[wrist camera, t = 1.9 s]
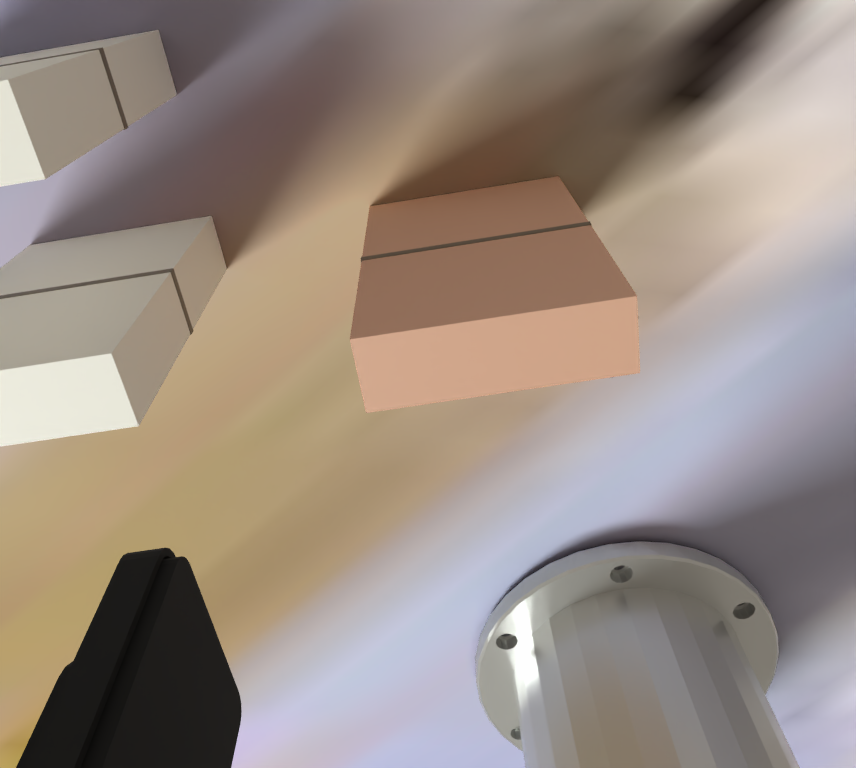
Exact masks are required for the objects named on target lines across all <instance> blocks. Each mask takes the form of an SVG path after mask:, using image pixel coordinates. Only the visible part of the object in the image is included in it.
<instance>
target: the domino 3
mask: <svg viewBox="0 0 856 768" xmlns="http://www.w3.org/2000/svg"><path fill="white" fill-rule="evenodd" d="M350 342H351V347H352V351H353V356H354V360H355V365H356V369H357V374H358V378H359V383H360V387H361V392H362V396H363V401H364V405H365V410H366V413H369V412H376V411H383V410H390V409H397V408H403V407H410V406H417V405H424V404H431V403H438V402H444V401H451V400H458V399H465V398H472V397H479V396H485V395H492V394H499V393H506V392H513V391H520V390H527V389H533V388H540V387H547V386H554V385H561V384H568V383H574V382H581V381H588V380H595V379H602V378H609V377H615V376H622V375H629V374H636V373H640V359H639V332H638V306H637V295H636V294H635V292H634V291H633V289H632V287H631V286H630V284H629V283H628V281H627V280H626V278H625V277H624V275H623V274H622V272H621V271H620V269H619V268H618V266H617V265H616V263H615V261H614V260H613V258H612V257H611V255H610V254H609V252H608V251H607V249H606V248H605V246H604V245H603V243H602V242H601V240H600V239H599V237H598V235H597V234H596V232H595V231H594V229H593V228H592V226H591V223H590V221H589V222H588V220H587V219H586V217H585V216H584V214H583V213H582V211H581V209H580V208H579V206H578V205H577V203H576V202H575V200H574V199H573V197H572V196H571V194H570V193H569V191H568V190H567V188H566V187H565V185H564V183H563V182H562V180H561V179H560V177H559V176H556V177H550V178H543V179H537V180H531V181H525V182H518V183H512V184H506V185H500V186H493V187H487V188H481V189H475V190H468V191H462V192H456V193H450V194H443V195H437V196H431V197H425V198H418V199H412V200H406V201H400V202H393V203H387V204H381V205H375V206H370V208H369V215H368V222H367V228H366V235H365V242H364V249H363V255H362V257H361V269H360V275H359V282H358V289H357V295H356V302H355V309H354V315H353V322H352V329H351V336H350Z"/></svg>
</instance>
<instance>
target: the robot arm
mask: <svg viewBox="0 0 856 768" xmlns="http://www.w3.org/2000/svg"><path fill="white" fill-rule="evenodd" d="M778 656H779V647H778V633H777V630H776V628H775V625H774V622H773V619H772V617H771V614H770V612H769V610H768V608H767V607H766V605H765V603H764V601H763V600H762V598H761V596H760V594H759V593H758V591H757V590H756V588H755V587H754V586H753V585H752V584H751V583H750V582H749V581H748V580H747V579H746V578H745V577H744V575H743V574H742V573H740V572H739V571H737V570H736V569H735V568H733V567H732V566H730V565H729V564H727V563H726V562H724V561H723V560H721V559H719V558H717V557H714V556H712V555H709V554H707V553H705V552H702V551H700V550H697V549H694V548H689V547H685V546H680V545H675V544H671V543H660V542H641V541H637V542H626V543H616V544H607V545H603V546H599V547H595V548H591V549H587V550H583V551H579V552H576V553H574V554H571V555H569V556H566V557H564V558H562V559H559V560H557V561H554V562H552V563H550V564H548V565H546V566H545V567H543V568H541V569H540V570H538V571H536V572H535V573H533V574H532V575H530V576H528V577H527V578H525V579H524V580H523V581H522V582H521V583H519V584H518V585H517V586H516V587H515V588H514V589H513V590H511V591H510V592H509V593H508V594H507V595H506V596H505V597H504V598H503V599H502V601H501V602H500V603H499V604H498V606H497V607H496V608H495V609H494V611H493V612H492V613H491V615H490V616H489V618H488V620H487V622H486V624H485V626H484V628H483V630H482V632H481V635H480V637H479V642H478V646H477V651H476V656H475V663H476V682H477V688H478V693H479V699H480V703H481V705H482V707H483V709H484V711H485V713H486V715H487V717H488V720H489V721H490V722H491V723H492V725H493V726H494V727H495V728H496V729H497V731H498V732H499V733H500V734H501V735H502V736H503V737H504V738H505V739H507V740H508V741H509V742H510V743H512V744H513V745H514V746H515V747H517V748H518V749H519V750H521V751H523V754H524V761H525V768H800V767H799V765H798V763H797V761H796V759H795V756H794V754H793V752H792V750H791V748H790V746H789V744H788V742H787V740H786V738H785V736H784V733H783V731H782V729H781V727H780V725H779V723H778V721H777V719H776V717H775V715H774V713H773V711H772V708H771V706H770V704H769V702H768V700H767V698H766V696H765V695H766V693H767V691H768V689H769V686H770V684H771V682H772V680H773V678H774V675H775V672H776V666H777V661H778ZM240 722H241V700H240V695H239V692H238V689H237V686H236V684H235V681H234V678H233V676H232V673H231V671H230V668H229V665H228V663H227V660H226V657H225V655H224V652H223V650H222V647H221V644H220V642H219V639H218V637H217V634H216V631H215V629H214V626H213V623H212V621H211V618H210V616H209V613H208V610H207V608H206V605H205V603H204V600H203V597H202V595H201V592H200V589H199V587H198V584H197V582H196V579H195V576H194V574H193V571H192V569H191V566H190V564H189V562H188V560H187V559H186V558H185V557H175V555H174V553H173V552H172V551H171V550H170V549H169V548H161V549H154V550H147V551H140V552H132V553H127V554H125V555H123V556H122V558H121V559H120V561H119V563H118V565H117V567H116V570H115V572H114V574H113V576H112V578H111V581H110V583H109V585H108V587H107V589H106V591H105V594H104V596H103V598H102V600H101V602H100V604H99V607H98V609H97V611H96V613H95V615H94V618H93V620H92V622H91V624H90V626H89V628H88V631H87V633H86V635H85V637H84V639H83V641H82V644H81V646H80V648H79V650H78V652H77V655H76V657H75V659H74V661H73V662H71V663H70V664H69V665H67V666H66V667H65V668H64V670H63V671H62V673H61V675H60V676H59V678H58V680H57V682H56V684H55V686H54V688H53V690H52V693H51V695H50V697H49V699H48V701H47V703H46V705H45V707H44V710H43V712H42V714H41V716H40V718H39V720H38V722H37V724H36V727H35V729H34V731H33V733H32V735H31V737H30V739H29V741H28V744H27V746H26V748H25V750H24V752H23V754H22V756H21V759H20V761H19V763H18V765H17V767H16V768H231V765H232V760H233V755H234V751H235V746H236V741H237V736H238V732H239V727H240Z"/></svg>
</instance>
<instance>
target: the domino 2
mask: <svg viewBox="0 0 856 768" xmlns="http://www.w3.org/2000/svg"><path fill="white" fill-rule="evenodd" d="M226 270H227V267H226V264H225V260H224V257H223V253H222V250H221V246H220V243H219V239H218V236H217V232H216V229H215V225H214V222H213V218H212V216H207V217H201V218H194V219H188V220H182V221H176V222H170V223H163V224H157V225H151V226H145V227H139V228H132V229H126V230H120V231H114V232H108V233H101V234H95V235H89V236H83V237H77V238H70V239H64V240H58V241H52V242H46V243H39V244H33V245H29V246H28V247H27V248H25V249H24V250H23V251H22V252H20V253H19V254H18V255H16V256H15V257H14V258H13V259H11V260H10V261H9V262H8V263H6V264H5V265H4V266H3V267H1V268H0V446H7V445H14V444H21V443H27V442H34V441H41V440H48V439H55V438H61V437H68V436H75V435H82V434H88V433H95V432H102V431H109V430H115V429H122V428H129V427H136V426H139V425H140V423H141V421H142V419H143V417H144V416H145V414H146V412H147V410H148V409H149V407H150V405H151V403H152V401H153V400H154V398H155V396H156V394H157V393H158V391H159V389H160V387H161V385H162V384H163V382H164V380H165V378H166V377H167V375H168V373H169V371H170V369H171V368H172V366H173V364H174V362H175V360H176V359H177V357H178V355H179V353H180V352H181V350H182V348H183V346H184V344H185V343H186V341H187V339H188V337H189V336H190V335H191V334H192V332H193V328H194V327H195V325H196V323H197V321H198V320H199V318H200V316H201V314H202V312H203V311H204V309H205V307H206V305H207V303H208V302H209V300H210V298H211V296H212V295H213V293H214V291H215V289H216V287H217V286H218V284H219V282H220V280H221V279H222V277H223V275H224V273H225V271H226Z"/></svg>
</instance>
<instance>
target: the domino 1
mask: <svg viewBox="0 0 856 768" xmlns="http://www.w3.org/2000/svg"><path fill="white" fill-rule="evenodd" d="M176 95H177V93H176V89H175V86H174V82H173V79H172V75H171V72H170V68H169V65H168V61H167V58H166V54H165V51H164V47H163V44H162V40H161V37H160V33H159V30H154V31H149V32H143V33H137V34H132V35H126V36H120V37H114V38H109V39H103V40H97V41H91V42H86V43H80V44H74V45H68V46H63V47H57V48H51V49H45V50H40V51H34V52H28V53H22V54H17V55H11V56H5V57H0V187H1V186H7V185H13V184H19V183H25V182H31V181H38V180H44V179H46V178H48V177H50V176H51V175H53V174H54V173H56V172H57V171H59V170H61V169H62V168H64V167H65V166H67V165H68V164H70V163H71V162H73V161H75V160H76V159H78V158H79V157H81V156H82V155H84V154H86V153H87V152H89V151H90V150H92V149H93V148H95V147H97V146H98V145H100V144H101V143H103V142H104V141H106V140H107V139H109V138H111V137H112V136H114V135H115V134H117V133H118V132H120V131H122V130H125V129H127V128H128V126H129V125H131V124H132V123H134V122H136V121H137V120H139V119H140V118H142V117H143V116H145V115H147V114H148V113H150V112H151V111H153V110H154V109H156V108H158V107H159V106H161V105H162V104H164V103H165V102H167V101H168V100H170V99H172V98H173V97H175V96H176Z"/></svg>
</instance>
